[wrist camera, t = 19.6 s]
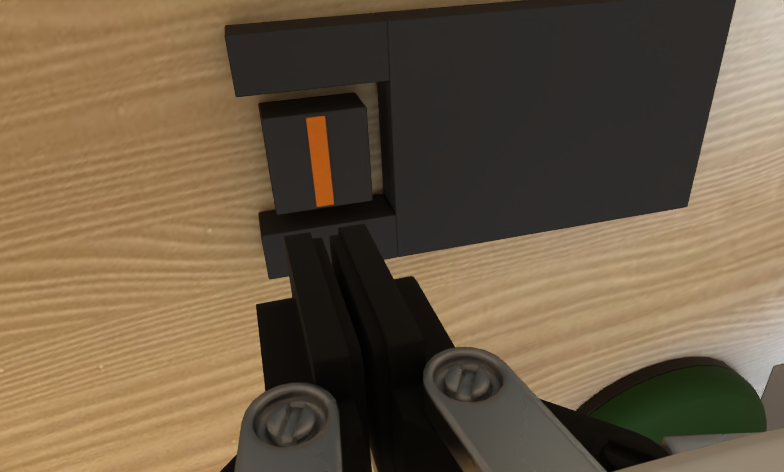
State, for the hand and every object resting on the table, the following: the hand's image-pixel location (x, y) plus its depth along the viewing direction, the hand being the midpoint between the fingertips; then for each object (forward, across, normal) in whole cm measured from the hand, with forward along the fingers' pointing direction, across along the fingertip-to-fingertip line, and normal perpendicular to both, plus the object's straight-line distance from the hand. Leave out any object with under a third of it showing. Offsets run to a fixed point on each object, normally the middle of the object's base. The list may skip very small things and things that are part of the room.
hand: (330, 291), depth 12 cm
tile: (+23, -2, +5) cm, 23 cm away
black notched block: (+22, -13, +4) cm, 26 cm away
